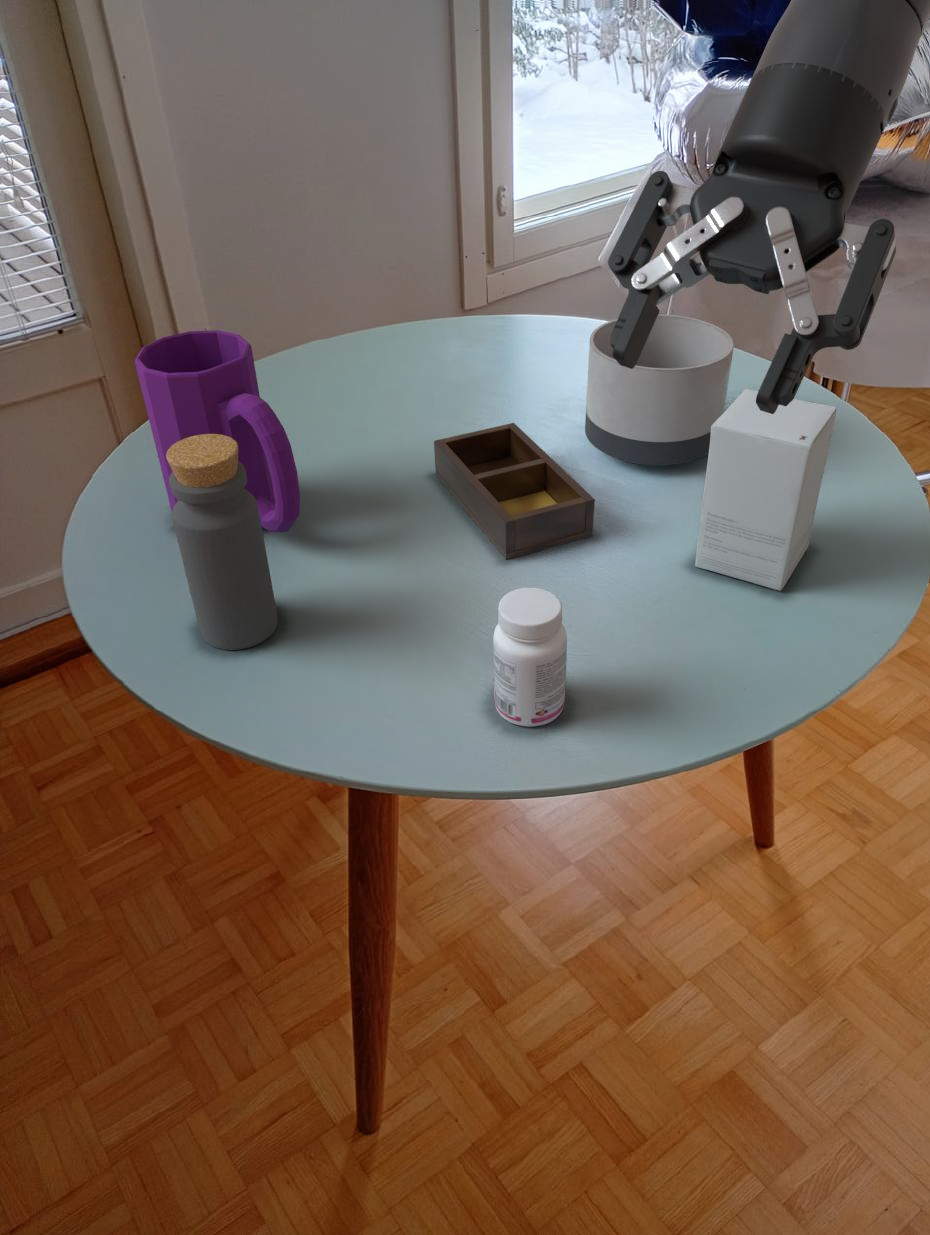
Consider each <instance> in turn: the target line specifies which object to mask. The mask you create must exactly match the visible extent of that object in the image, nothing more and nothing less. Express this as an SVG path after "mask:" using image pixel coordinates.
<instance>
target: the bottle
mask: <svg viewBox="0 0 930 1235" xmlns="http://www.w3.org/2000/svg"><path fill="white" fill-rule="evenodd" d="M166 458H167V460H168V463H169V465H170V467H171V469H172V471H173V472H172V473H171V475H170V477H169V484H170V488H171V492H172V494H173V495H174V497H176V498H177V499H178V500H179V501H178V502H177V503H176V505H175V506H174V508H173V511H171V517H172V518H171V519H172V524H173V528H174V532H175V536H176V539H177V544H178V548H179V552H180V553H179V554H180V556H181V560H182V564H183V568H184V573H185V576H186V577H185V578H186V581H187V585H188V590H189V593H190V598H191V602H192V605H193V610H194V614H195V617H196V622H197V626H198V627H199V633H200V635H201V637H202V639H203V640H204V641H205V642H206V643H207V644H208V645H209V646H211V647H213V648H216V649H220V650H223V651H224V650H225V651H235V650H236V651H237V650H244V649H249V648H251V647H254V646H257V645H259V644H261V643H263V642H265V641H266V640H267V639H268V638H270V637H271V636H272V635H273V633H274V632H275V631H276V629H277V626H278V624H279V623H278V622H279V621H278V620H279V618H278V612H277V604H276V599H275V594H274V588H273V582H272V577H271V571H270V566H269V560H268V555H267V554H268V553H267V550H266V542H265V537H264V532H263V527H262V526H261V521H260V516H259V511H258V506H257V502H256V499H255V498H254V496H253V495H252V494H251V493H250V492H248V491H247V490H245V489H244V487H245V486H246V483H247V475H246V470H245V467H244V466H243V464H242V463H241V462H239V461H238V444H237V442H236V441H235V440H234V439H232V438H230V437H228V436H225V435H220V434H202V435H196V436H191V437H188V438H185V439H182V440H180V441H178V442H176V443H175V444H173V445H172V446H171V447H170V448H169V449H168V451H167V454H166Z"/></svg>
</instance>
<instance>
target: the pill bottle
mask: <svg viewBox="0 0 930 1235" xmlns="http://www.w3.org/2000/svg"><path fill="white" fill-rule="evenodd" d="M497 611H498V612H497V613H498V615H497V617H498V619H497V620H498V623H497V625H496V627H495V629H494V632H493V638H492V648H493V652H492V653H493V657H492V658H493V699H494V700H493V701H494V705H495V709H496V711H497V713H498V714H499V715H500V716H501V717H502V718H503V719H504V720H505V721H507V722H509V723H511V724H514V725H517V726H522V727H539V726H544V725H546V724H547V725H548V724H549V723H551V722H553V721H554V720H556V719H557V718H558V717H559V716H560V714H561V713H562V711H563V709H564V707H565V702H566V685H567V684H566V682H567V681H566V680H567V660H568V658H567V656H568V654H567V653H568V634H567V633H568V632H567V630H566V627H565V626H564V624H563V604H562V601H561V600H560V599H559V597H558V596H557V595H555V593H553V592H551V591H549V590H546V589H543V588H540V587H522V588H517V589H514V590H512V591H509V592H507V593H506V594H505V595H504V596H502V597H501V599H500V601H499V603H498V610H497Z"/></svg>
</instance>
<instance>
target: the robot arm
mask: <svg viewBox="0 0 930 1235" xmlns="http://www.w3.org/2000/svg"><path fill="white" fill-rule="evenodd" d="M929 20H930V0H790V2H789V4H788V6H787V8H786V9H785V11H784V13H783V14H782V16H781V17H780V19H779V21H778V22H777V24H776V26H775V27H774V29H773V31H772V33H771V34H770V37H769V39H768V40H767V43H766V46H765V48H764V50H763V52H762V54H761V57H760V58H759V61H758V64H757V66H756V68H755V70H754V73H753V75H752V77H751V80H750V82H749V84H748V85H747V88H746V90H745V92H744V94H743V97H742V99H741V102H740V104H739V106H738V109H737V110H736V113H735V116H734V117H733V120H732V122H731V124H730V126H729V129H728V131H727V134H726V135H725V138H724V140H723V142H722V145H721V146H720V149H719V152H718V154H717V157H716V160H715V163H714V166H713V168H712V171H711V173H710V175H709V176H708V177H707V179H706V180H705V181H703V183H702V184H701V185H700V186H699V187H697V188H692V187H689V186H685V185H681V184H678V183H675V182H672V181H671V179H670V176H669V174H668V173H667V172H665V171H663V170H658V171H657V170H656V171H654V172H653V173H652V174H651V175H650V176H649V177H648V180H647V181H646V183H645V185H644V187H643V189H642V191H641V193H640V195H639V197H638V199H637V201H636V203H635V205H634V207H633V209H632V211H631V213H630V215H629V217H628V219H627V221H626V223H625V224H624V227H623V228H622V231H621V233H620V235H619V237H618V239H617V241H616V243H615V245H614V247H613V249H612V251H611V253H610V255H609V256H608V259H607V265H608V267H609V269H610V271H611V272H612V273H613V275H614V277H615V278H616V279H617V281H618V282H619V283H620V285H621V286H622V287H623V288H624V289H627V290H628V294H627V297H626V299H625V301H624V304H623V306H622V308H621V311H620V313H619V315H618V317H617V319H618V320H617V322H616V324H615V326H614V328H613V331H612V333H611V335H610V345H611V346H612V348H613V349H614V350H613V357H614V358H615V360H616V361H617V362H618V363H619V364H620V365H621V366H624V367H627V368H630V369H633V368H634V367H635V365H636V363H637V361H638V359H639V357H640V354H641V352H642V350H643V348H644V345H645V343H646V341H647V339H648V336H649V334H650V332H651V330H652V327H653V325H654V323H655V321H656V318H657V316H658V314H660V311H661V310H660V309H659V308H658V306H659V305H660V304H661V303H663V302H664V301H666V300H667V299H669V298H671V297H672V296H673V295H675V294H677V293H678V292H679V291H680V290H682V289H684V288H692V287H694V286H695V285H697V284H698V283H699V282H701V281H702V280H704V279H706V278H707V277H708V276H710V275H711V276H712V277H713V279H714V280H715V282H718V283H722V284H726V285H744V286H745V287H747V288H749V289H751V290H753V291H754V292H757V293H760V294H765V295H769V294H770V292H773V291H778V290H781V289H783V292H784V295H785V298H786V301H787V305H788V309H789V314H790V316H791V321H792V324H793V328H792V330H791V332H790V334H789V333H786V332H785V333H784V334H783V336H782V338H781V340H780V343H779V345H778V348H777V349H776V352H775V353H774V356H773V359H772V360H771V363H770V365H769V367H768V369H767V372H766V373H765V376H764V378H763V380H762V382H761V384H760V387H759V389H758V390H757V391H758V394H757V397H756V404H757V406H758V407H759V409H760V410H761V411H764V412H767V413H770V414H774V413H775V411H776V410H777V408H778V405H782V406H785V407H786V406H787V405H788V404H789V403H790V402H791V401H792V400H793V399H795V397H796V395H797V393H798V391H799V388H800V386H801V384H802V381H803V380H804V377H805V375H806V373H807V371H808V369H809V367H810V365H811V362H812V360H813V358H814V356H815V355H816V354H817V353H818V352H820V351H821V350H823V349H827V348H841V349H843V350H846V351H850V350H853V349H856V348H857V347H858V346H860V344H861V343H862V341H863V338H864V336H865V333H866V331H867V328H868V326H869V322H870V320H871V317H872V315H873V313H874V310H875V308H876V304H877V302H878V300H879V297H880V295H881V292H882V289H883V287H884V285H885V282H886V279H887V276H888V274H889V271H890V269H891V266H892V265H893V264H892V263H893V261H894V258H895V256H896V253H897V246H896V245H897V244H896V243H897V242H896V232H895V225H894V223H893V222H892V221H891V220H889V219H888V218H887V219H886V218H880V219H877V220H875V221H874V222H873V223H871V224H870V225H866V224H861V223H860V224H859V223H855V222H853V223H852V222H848V221H847V222H846V215H847V211H848V210H849V207H850V205H851V203H852V201H853V199H854V198H855V194H856V193H857V191H858V188H859V186H860V184H861V181H862V180H863V177H864V175H865V172H866V170H867V169H868V166H869V164H870V162H871V160H872V157H873V155H874V153H875V151H876V148H877V147H878V145H879V142H880V140H881V137H882V135H883V133H884V131H885V128H886V127H887V125H888V124H889V123H890V122H891V121H892V118H893V117H894V113H895V112H896V109H897V107H898V104H899V98H900V96H901V94H902V92H903V90H904V87H905V84H906V82H907V79H908V76H909V73H910V69H911V66H912V64H913V59H914V57H915V53H916V50H917V48H918V46H919V43H920V40H921V37H922V36H923V34H924V31H925V29H926V27H927V24H928V22H929ZM686 214H690V216H691V220H692V221H691V222H692V226H690V227H688V228H687V229H686V230H685V231H683V232H681V233H680V234H679V235H678V236H676V237H675V238H673V239H671V240H670V241H669V242H668V243H667V244H666V245H665V246H664V248H663V251H662V252H661V253H660V254H659V255H657V256H656V257H655V258H653V255H654V254H655V251H656V250H657V247H658V246H659V244H660V242H661V240H662V238H663V236H664V234H665V231H666V230H667V228H668V227H674V226H675V225H677V223H678V221H679V220H680V218H681V217H682V216H684V215H686ZM840 248H842V249H844V250H845V251H846V252H845V257H846V262H847V267H848V269H850V270H851V274H850V276H849V278H848V281H847V284H846V287H845V289H844V291H843V294H842V297H841V298H840V302H839V304H838V307H837V309H836V313H831V314H818V311H817V308H816V305H815V301H814V297H813V293H812V289H811V285H810V283H809V279H808V274H807V272H809V271H810V270H812V269H814V267H816V266H817V265H819V264H820V263H822V262H823V261H824V260H826V259H828V258H829V257H830V256H832V255H833V254H835V253H837V251H839V249H840ZM695 254H696V255H695ZM693 256H694V257H693ZM652 258H653V259H652ZM651 259H652V260H651Z"/></svg>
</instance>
